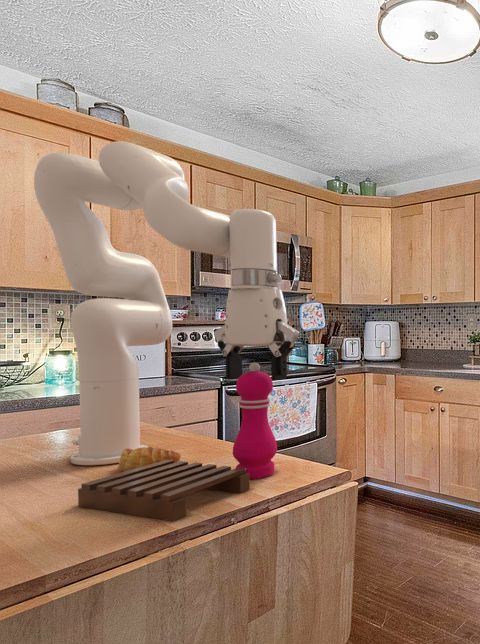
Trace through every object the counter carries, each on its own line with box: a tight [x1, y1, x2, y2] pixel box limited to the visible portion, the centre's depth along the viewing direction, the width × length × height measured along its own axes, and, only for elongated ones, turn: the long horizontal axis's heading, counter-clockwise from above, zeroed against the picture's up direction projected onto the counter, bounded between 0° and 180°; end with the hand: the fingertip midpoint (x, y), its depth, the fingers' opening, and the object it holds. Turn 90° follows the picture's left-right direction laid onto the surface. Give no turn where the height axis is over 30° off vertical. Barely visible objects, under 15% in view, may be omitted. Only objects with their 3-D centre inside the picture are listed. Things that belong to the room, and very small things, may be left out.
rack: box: [77, 460, 251, 522], centre depth 76 cm, size 18×14×3 cm
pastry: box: [117, 446, 181, 472], centre depth 92 cm, size 9×7×4 cm
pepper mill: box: [232, 362, 278, 480], centre depth 88 cm, size 7×7×20 cm
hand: (256, 378), depth 88 cm, fingers open, 9 cm apart
